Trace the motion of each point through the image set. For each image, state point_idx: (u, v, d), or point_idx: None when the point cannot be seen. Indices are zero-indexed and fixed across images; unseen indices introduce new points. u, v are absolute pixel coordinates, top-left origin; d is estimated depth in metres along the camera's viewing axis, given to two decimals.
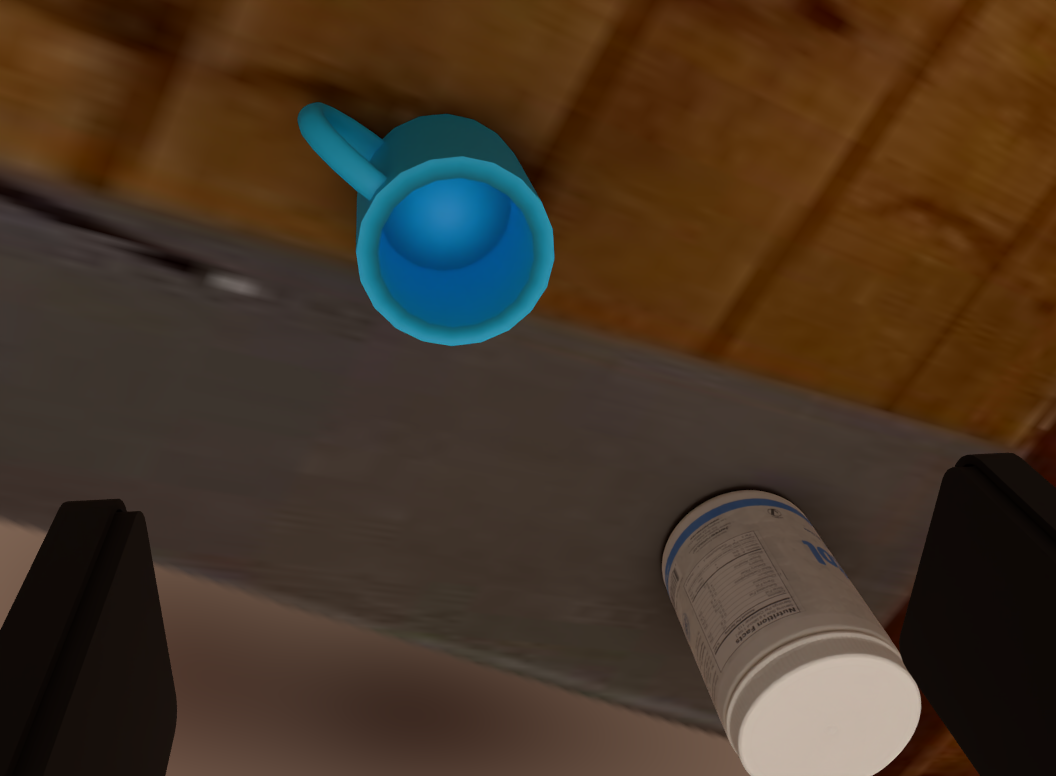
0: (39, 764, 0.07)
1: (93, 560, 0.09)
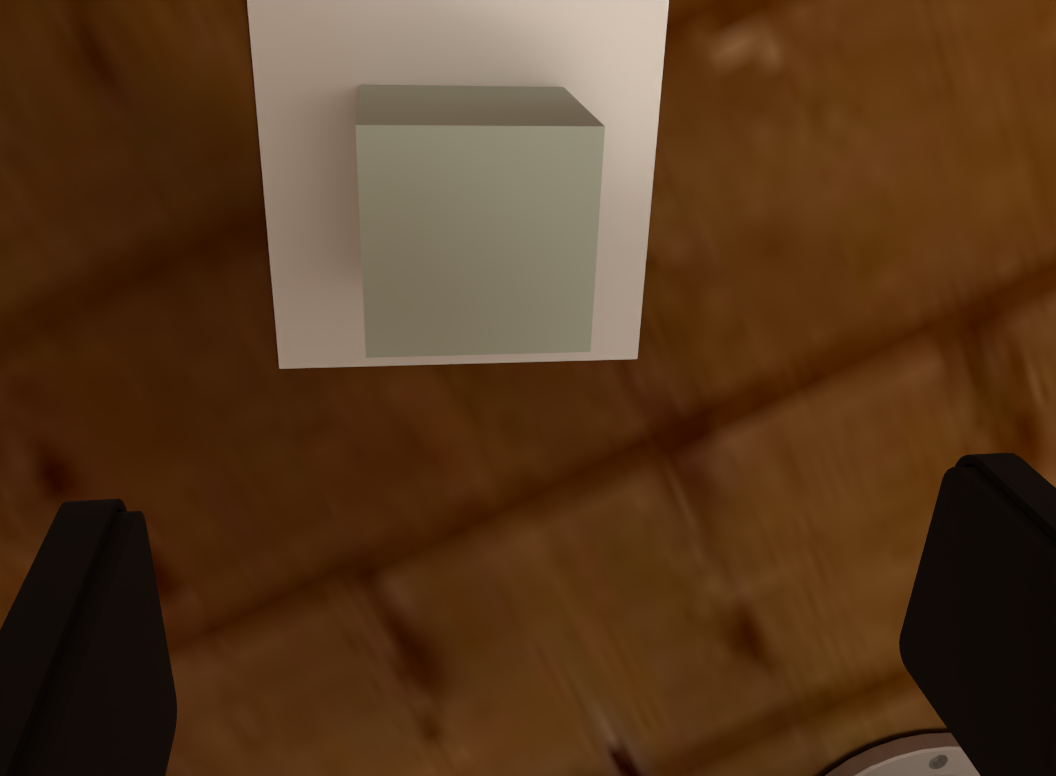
0: (39, 764, 0.07)
1: (93, 560, 0.09)
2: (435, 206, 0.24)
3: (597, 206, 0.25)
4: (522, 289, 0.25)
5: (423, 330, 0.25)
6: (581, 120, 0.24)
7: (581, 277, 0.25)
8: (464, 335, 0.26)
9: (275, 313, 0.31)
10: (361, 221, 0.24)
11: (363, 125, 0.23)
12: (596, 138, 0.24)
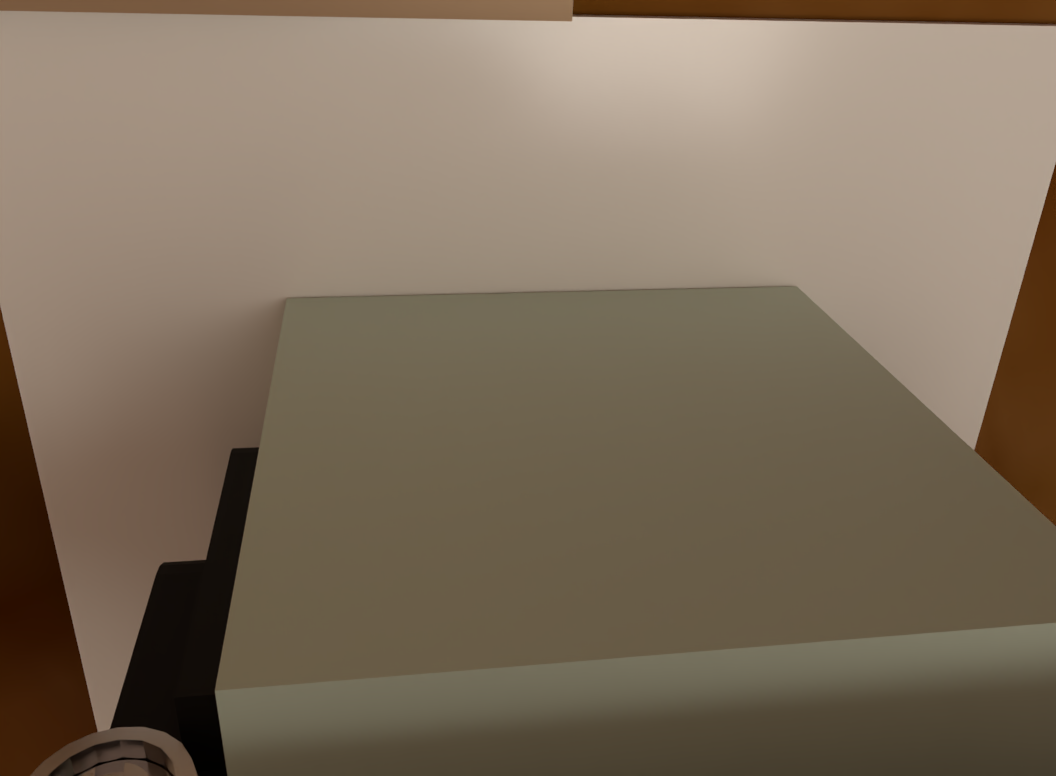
0: None
1: None
2: None
3: None
4: None
5: None
6: (1024, 553, 0.07)
7: None
8: None
9: None
10: None
11: (249, 687, 0.06)
12: None
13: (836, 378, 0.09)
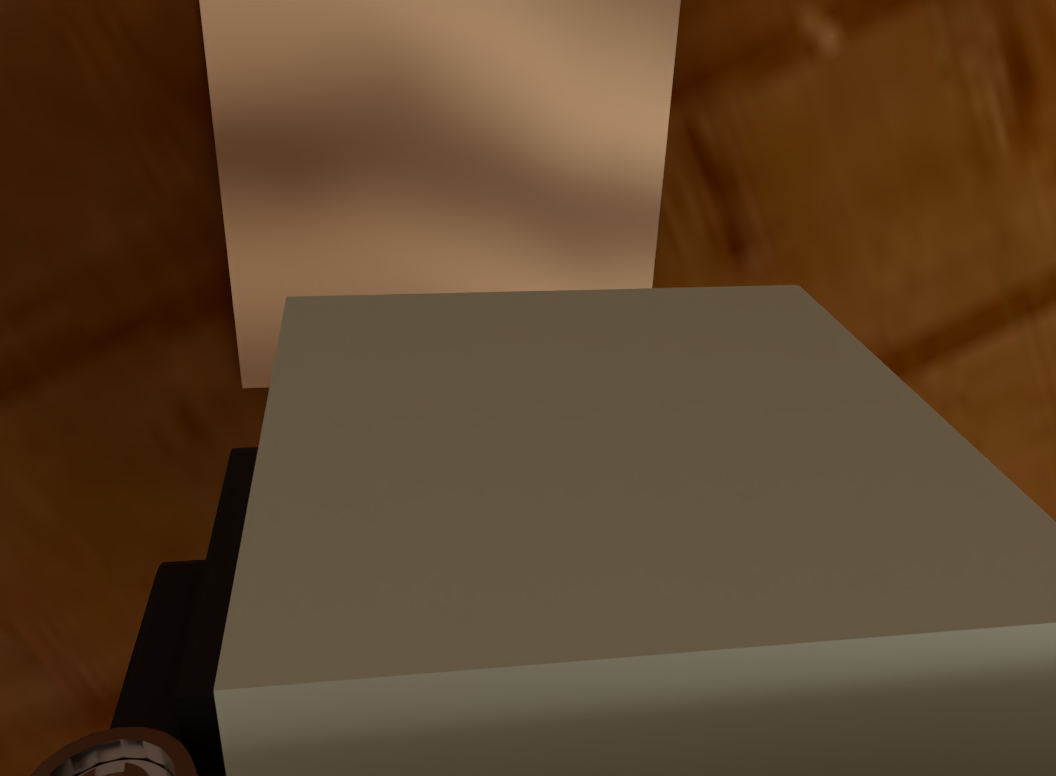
0: None
1: None
2: None
3: None
4: None
5: None
6: (1028, 551, 0.07)
7: None
8: None
9: None
10: None
11: (247, 687, 0.06)
12: None
13: (838, 376, 0.09)
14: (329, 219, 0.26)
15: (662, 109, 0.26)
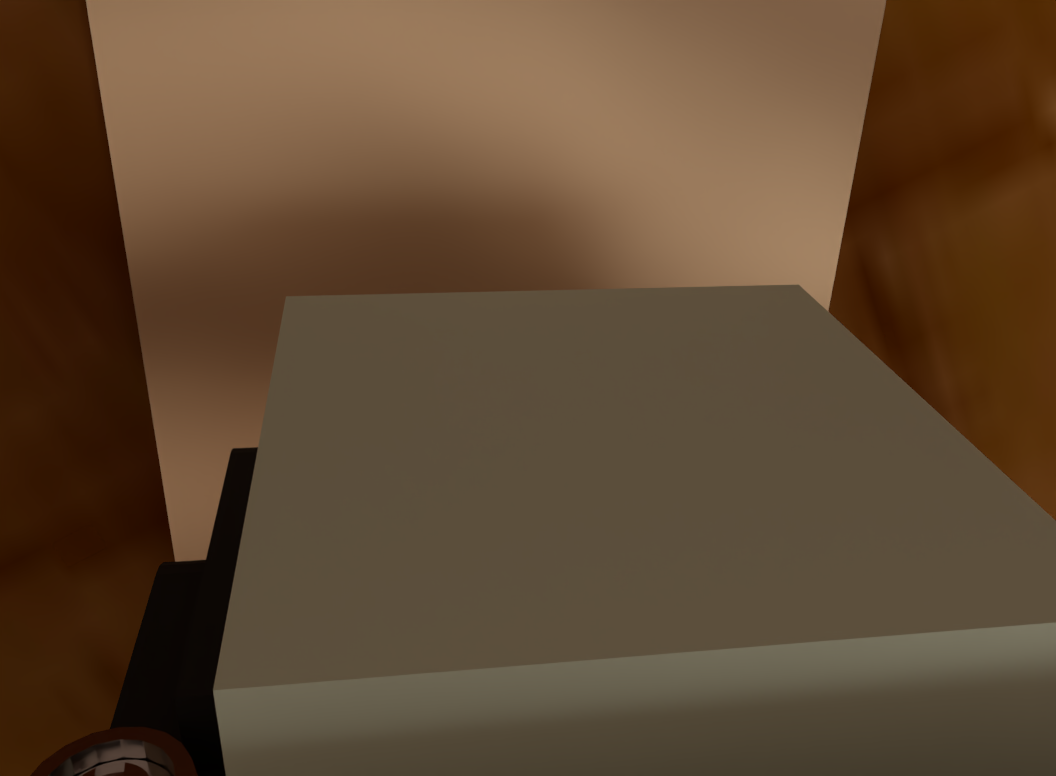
0: None
1: None
2: None
3: None
4: None
5: None
6: (1029, 551, 0.07)
7: None
8: None
9: None
10: None
11: (247, 687, 0.06)
12: None
13: (838, 376, 0.09)
14: None
15: (830, 240, 0.17)
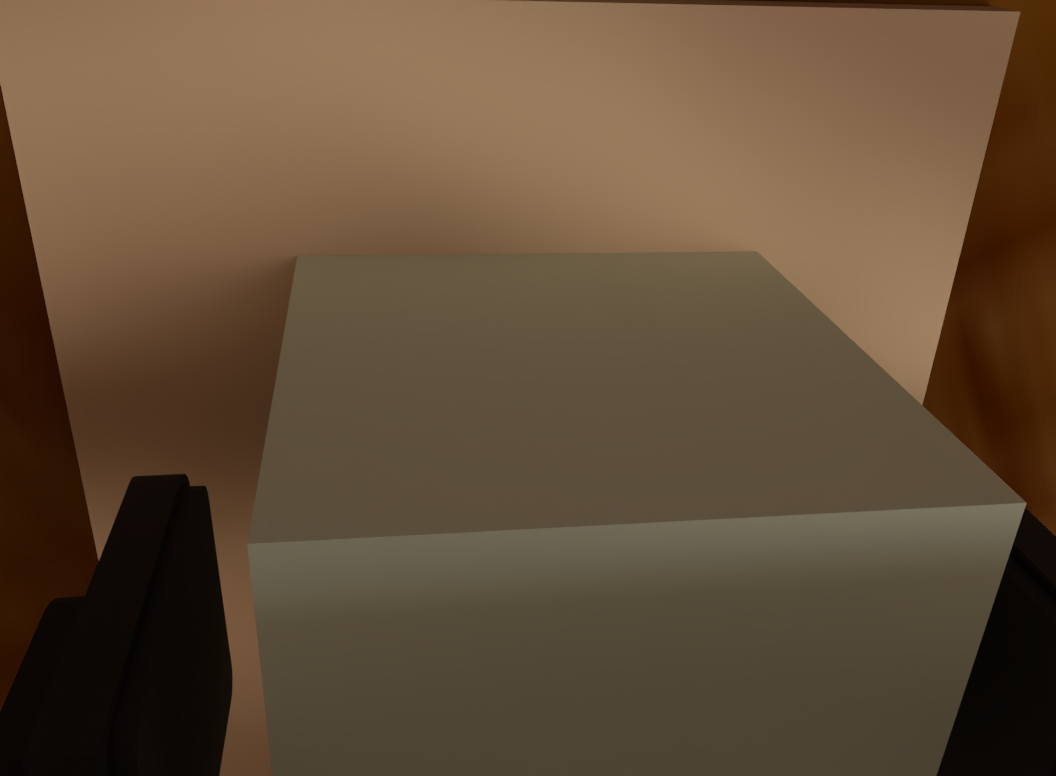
0: (135, 712, 0.07)
1: (166, 529, 0.09)
2: (501, 726, 0.08)
3: (958, 689, 0.09)
4: None
5: None
6: (928, 457, 0.08)
7: None
8: None
9: None
10: None
11: (275, 542, 0.07)
12: (995, 534, 0.08)
13: (784, 325, 0.11)
14: None
15: (932, 311, 0.14)
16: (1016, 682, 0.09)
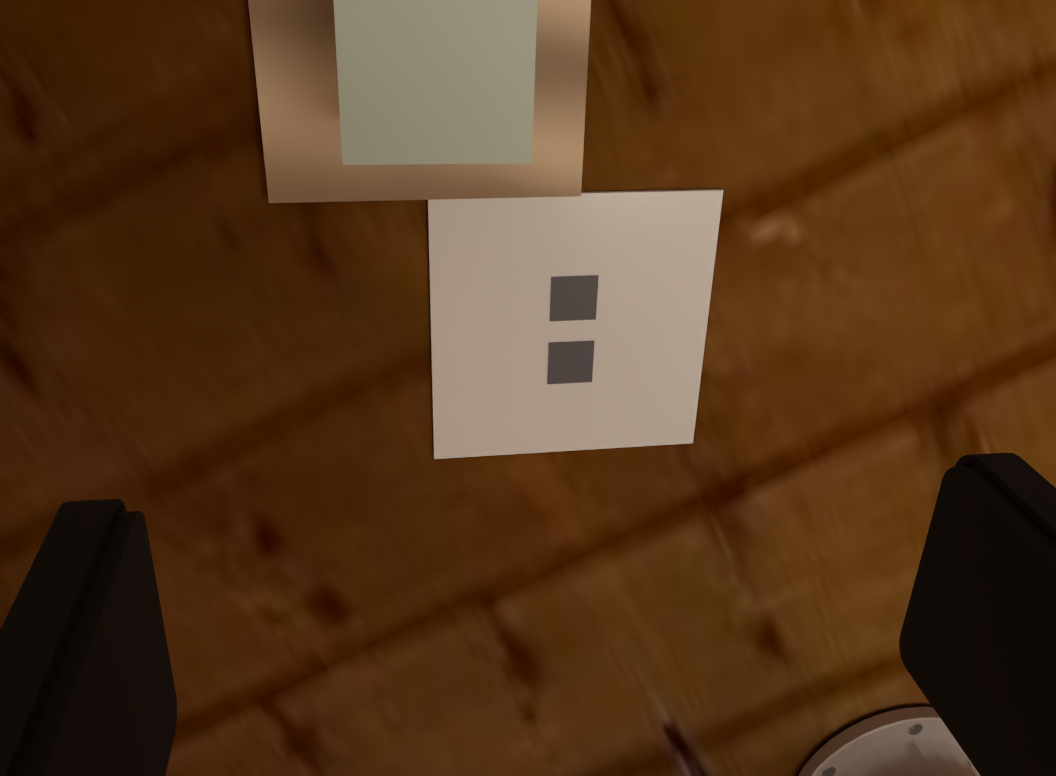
0: (39, 764, 0.07)
1: (93, 560, 0.09)
2: (398, 29, 0.29)
3: (534, 31, 0.29)
4: (473, 105, 0.30)
5: (390, 141, 0.30)
6: None
7: (522, 95, 0.30)
8: (425, 146, 0.31)
9: (433, 421, 0.43)
10: (337, 41, 0.29)
11: None
12: None
13: None
14: (334, 64, 0.35)
15: None
16: None
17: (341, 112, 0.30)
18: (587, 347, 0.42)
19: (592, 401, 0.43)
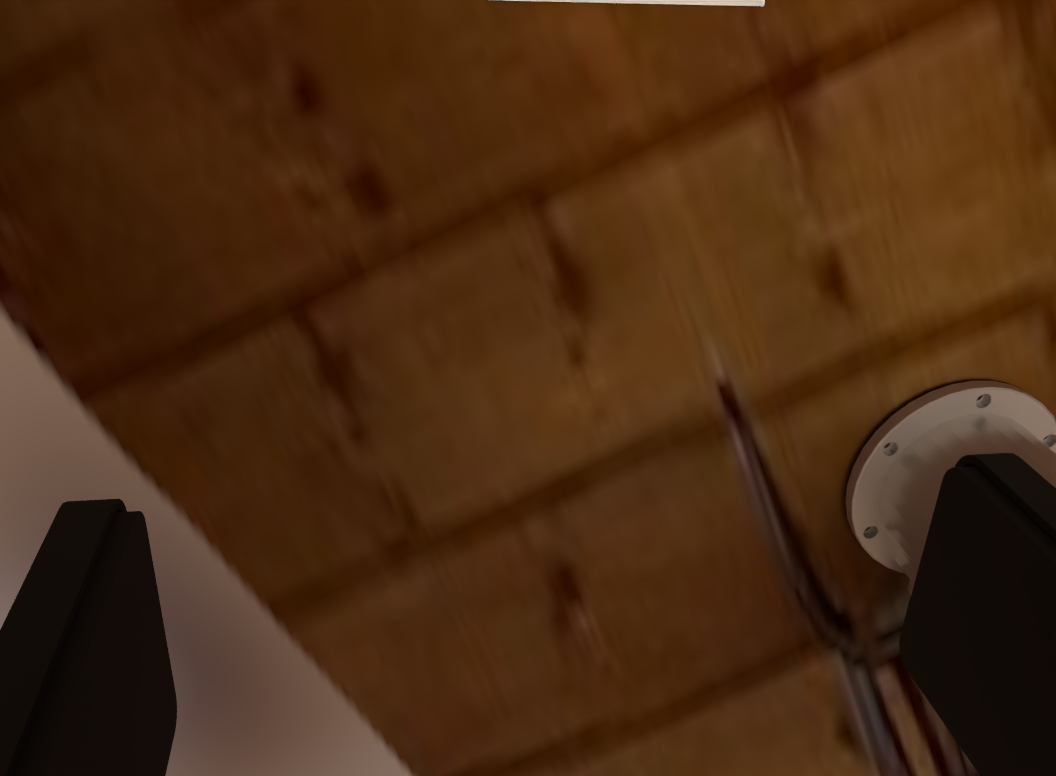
0: (39, 764, 0.07)
1: (93, 560, 0.09)
2: None
3: None
4: None
5: None
6: None
7: None
8: None
9: None
10: None
11: None
12: None
13: None
14: None
15: None
16: None
17: None
18: None
19: None
